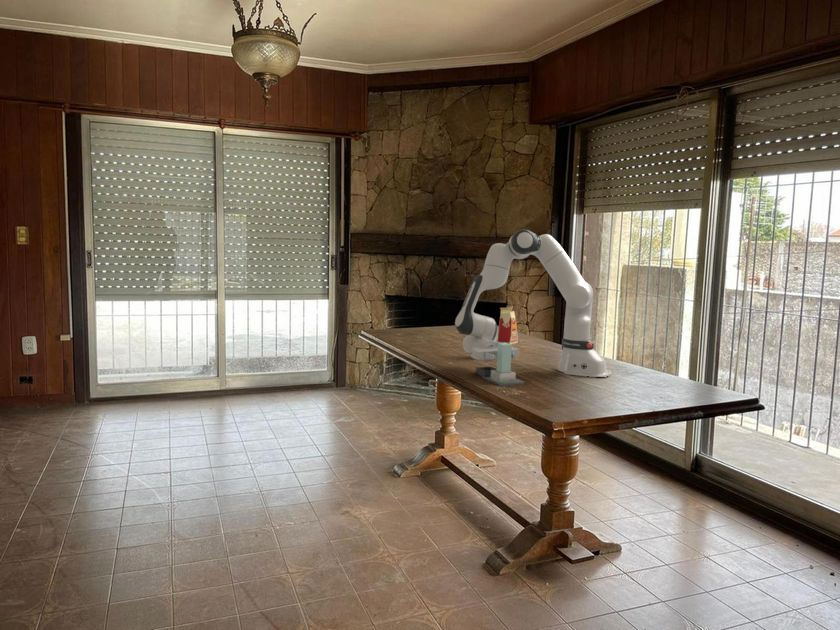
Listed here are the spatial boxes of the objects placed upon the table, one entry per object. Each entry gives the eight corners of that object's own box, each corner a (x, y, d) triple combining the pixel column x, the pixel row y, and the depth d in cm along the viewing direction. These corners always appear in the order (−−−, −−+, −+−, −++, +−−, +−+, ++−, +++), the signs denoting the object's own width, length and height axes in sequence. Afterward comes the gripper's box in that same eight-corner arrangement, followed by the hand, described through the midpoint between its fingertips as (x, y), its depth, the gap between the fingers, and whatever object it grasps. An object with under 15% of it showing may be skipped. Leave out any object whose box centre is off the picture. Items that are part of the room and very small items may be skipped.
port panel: (482, 378, 258) (482, 368, 257) (505, 376, 262) (505, 366, 262) (499, 386, 245) (500, 376, 245) (524, 384, 250) (524, 374, 249)
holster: (475, 373, 266) (476, 367, 266) (490, 372, 269) (490, 366, 269) (484, 377, 260) (484, 371, 260) (499, 375, 263) (499, 370, 263)
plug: (496, 377, 255) (497, 343, 253) (504, 377, 256) (506, 343, 254) (501, 380, 251) (503, 345, 249) (509, 379, 253) (511, 344, 251)
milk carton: (517, 342, 345) (519, 305, 343) (510, 344, 338) (512, 307, 335) (502, 340, 350) (504, 304, 347) (495, 342, 342) (496, 305, 340)
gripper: (465, 343, 260) (482, 350, 247) (508, 341, 268) (526, 347, 256) (464, 359, 261) (481, 366, 248) (507, 356, 269) (525, 363, 257)
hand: (504, 356), depth 252 cm, fingers open, 8 cm apart
